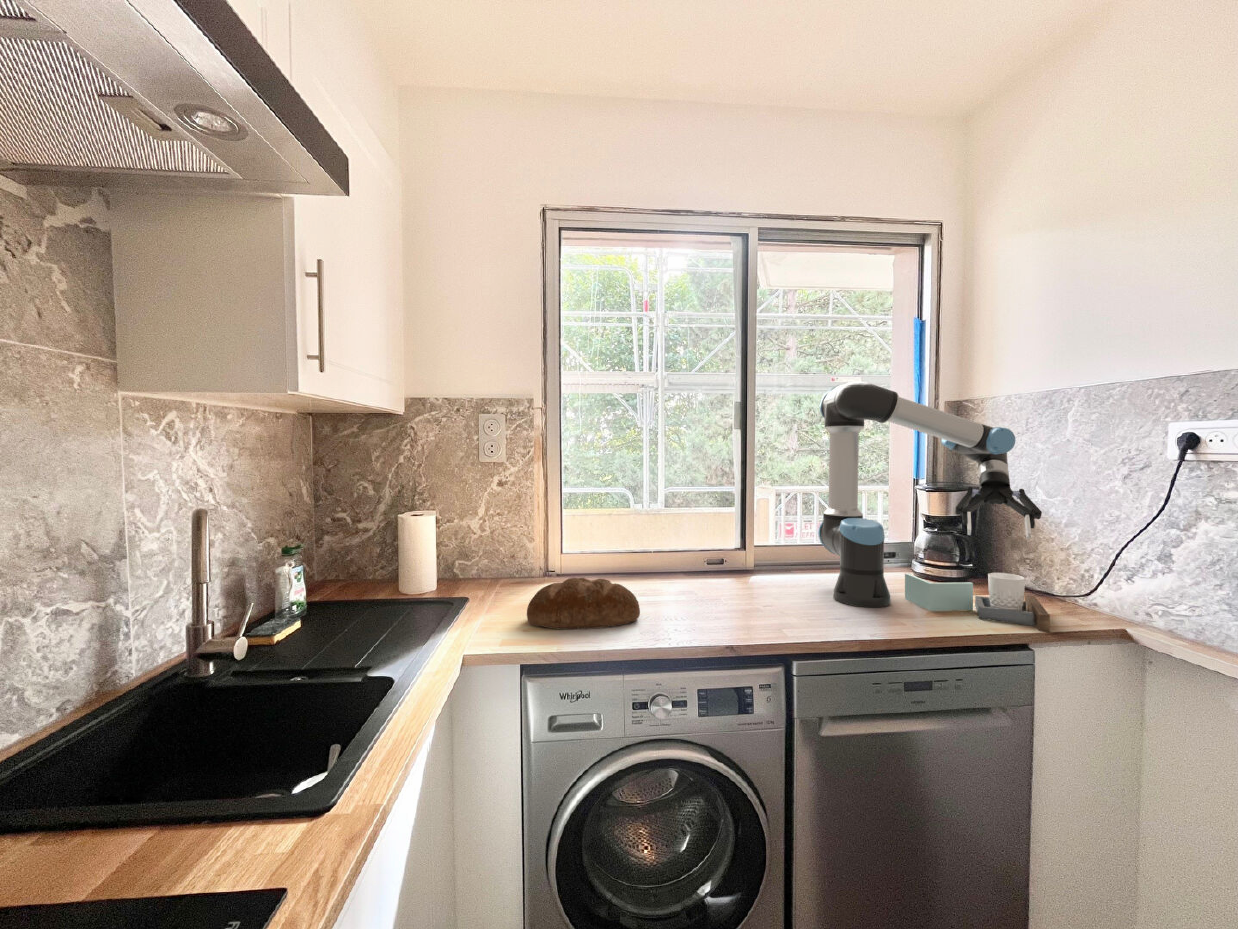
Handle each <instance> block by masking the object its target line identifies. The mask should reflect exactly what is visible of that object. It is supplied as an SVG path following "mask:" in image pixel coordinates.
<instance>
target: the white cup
mask: <svg viewBox="0 0 1238 929" xmlns="http://www.w3.org/2000/svg"><path fill="white" fill-rule="evenodd" d="M987 577H988V578H987V581H988V597H989V601H990V607H992V608H1001V609H1009V610H1018V611H1022V606H1023V601H1025V598H1024V597H1025V587H1026V578H1025V577H1024V576H1022V575H1018V574H1013V573H1007V572H991V573H990V572H989V573H987Z"/></svg>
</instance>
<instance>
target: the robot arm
mask: <svg viewBox="0 0 1238 929" xmlns="http://www.w3.org/2000/svg"><path fill="white" fill-rule="evenodd" d="M820 399H821V400H820V403H819V411H820V414H821V416H822V417H823V418H824V429H825V430H826V431H827V432H828V433H829V439H828V440H829V442H828V443H829V452H828V453H829V454H828V464H829V465H828V507H827V508H826V509H825V510H824V511H823V513H822V514H823V515H822V517H823V519H822V522H821V523H820V525H819V527H818V530H817V532H818V533H817V534H818V535H817V536H818V539H819V542H820V543H821V545H822V546H823V547H824V548H825V549H826V550H827V551H828V552H829V553H831V554H834V555H837V556H839V565H840V566H839V574H838V577H837V580H836V583H835V586H834V588H833V599H834V600H836V601H837V602H840V603H842V604H844V605H849V606H853V607H854V606H856V607H860V608H861V607H862V608H863V607H865V608H882V607H887V606H889V605H891V593H890V591H889V588H888V584H887V582H886V579H885V575H884V570H885V568H884V567H885V564H884V563H885V561H884V560H885V559H884V558H885V538H886V536H885V532H884V531H885V530H884V526H883V525H882V524H881V523H880V522H878V521H875V520H873V519H867V518H864V513H863V512H861V510H860V509H859V507H858V505H859V504H858V502H859V498H858V497H859V450H860V448H859V447H860V446H859V445H860V443H859V441H860V436H859V435H860V432H861V431H862V430H863V429H864V428H865V421H873V422H877V423H879V424H886V423H887V422H889V423H892V424H896V425H898V426H901V427H904V428H908V429H910V430H913V431H917V432H919V433H923V434H926V435H929V436H933V437H934V438H938V439H940V442H941V445H942V446H944V447H945V448H947V449H949V450H950V451H953V452H955V453H957V454H959V455H962V456H964V457H966V458H967V459H969V460H971V461H974V462H976V463H977V467H978V468H977V469H978V483H979V488H978V489H975V488H973V487H972V486H968V487H967V492H966V493H965V495H964V496H963V497H962V498H961V500H960V501H959V503H957V504H956V506H955V509H954V510H955V512H954V514H955V515H957V516H958V515H960V516H961V517H962V524H963V525H966V526H967V529H966V530H967V536H972V516H971V515H972V513H973V512H975V511H976V510H977V509H979V508H980V507H981V506H984V505H985V504H987V503H988V504H989V505H990V504H991V505H995V504H997V505H1003V504H1004V505H1005V506H1007V507H1008V508H1009V507H1010V508H1011V509H1012V510H1014V511H1015V512H1016V513H1018V514H1019V515H1020V516H1022V517H1023V518H1024V528H1025V536H1026V540H1031V538H1032V537H1031V536H1032V529H1034V528H1035V526H1036V521H1035V520H1040V519H1041V518H1042V517H1041V516H1042V510H1041V509H1040V508H1039V507H1038V506H1037V505H1036V504H1035V503H1034V501H1032V499H1031V498H1029V497H1028V495H1027V494H1026V492H1025V491H1026V490H1025V489H1024V488H1019V489H1018V490H1012V489H1011V480H1010V473H1009V472H1010V471H1009V462H1008V453H1009V452H1010V451H1012V449H1013V448H1014V447H1015V444H1016V435H1015V434H1014V432H1013V431H1012V430H1011V429H1009V428H1006V427H1001V426H996V427H992V426H990V425H987V424H982V423H980V422H978V421H977V422H976V421H973V420H970V419H967V418H964V417H961V416H959V415H955V414H953V413H949V412H946V411H944V410H940V409H938V408H934V407H932V406H927V405H924V404H923V403H922V404H921V403H919V402H916V401H912V400H910V399H907V398H904V397H901V396H899V393H898V392H896V391H894V390H891V389H889V388H888V389H887V388H884V387H882V386H880V385H877V384H873V383H870V382H866V381H857V380H854V381H849V382H847V383H845V384H841V385H836V386H834V387H832V388H830V389H828V391H827V392H825V393H824V395H823V396H822V398H820ZM976 495H978V496H979V497H978V498H976V499H975V500H973V501H972V502H971V503H970V501H971V499H972V498H974V497H975V496H976ZM1014 497H1015V498H1016V499H1018V500H1019V501H1020V502H1019V501H1018V500H1016V499H1015V498H1014Z"/></svg>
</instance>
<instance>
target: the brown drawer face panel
mask: <svg viewBox="0 0 1238 929" xmlns="http://www.w3.org/2000/svg"><path fill="white" fill-rule="evenodd" d="M1024 597H1025V598H1024V601H1026V611H1028V612H1033V613H1034V621H1035V623H1036V626H1035V627H1036V628H1037V629H1038V632H1039V631H1040V632H1046V633H1050V630H1051V624H1050V623H1051V615H1050V613H1049V612H1048V611H1047V610H1046V609H1045V608H1044V606H1043V605H1042V603H1041V602H1040V601H1039V600H1038V598H1037V597H1036V596H1035V595H1031V594H1030V595H1029V594H1024Z"/></svg>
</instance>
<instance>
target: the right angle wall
mask: <svg viewBox="0 0 1238 929" xmlns="http://www.w3.org/2000/svg"><path fill="white" fill-rule="evenodd" d="M904 599H905V600H906V601H908V602H910V601H911V603H912V602H913V604H914V603H915V605H916V604H917V605H916V606H919V607H920V608H922V607H923V608H922V609H924V608H926V609H927V611H928V610H929V612H949V611H948V610H973V611H974V605H973V604H974V583H973V582H971V581H970V582H931V581H927V580H925V579H923V578H920V577H919V576H915V575H912V574H910V573H904ZM926 609H925V610H926Z"/></svg>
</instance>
